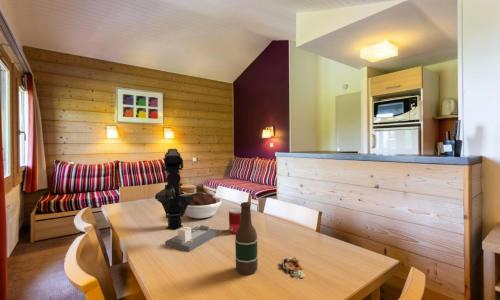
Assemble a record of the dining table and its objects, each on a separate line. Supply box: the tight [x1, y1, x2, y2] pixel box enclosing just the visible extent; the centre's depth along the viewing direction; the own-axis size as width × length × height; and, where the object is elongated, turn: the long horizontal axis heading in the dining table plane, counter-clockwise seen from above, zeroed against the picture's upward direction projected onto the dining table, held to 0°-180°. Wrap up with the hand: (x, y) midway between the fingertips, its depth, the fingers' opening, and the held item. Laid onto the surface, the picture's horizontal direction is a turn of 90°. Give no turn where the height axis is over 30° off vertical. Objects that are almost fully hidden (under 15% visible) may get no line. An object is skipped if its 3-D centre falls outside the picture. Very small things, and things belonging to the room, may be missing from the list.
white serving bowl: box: [185, 191, 222, 219], centre depth 157 cm, size 25×25×15 cm
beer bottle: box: [234, 201, 259, 276], centre depth 89 cm, size 8×8×24 cm
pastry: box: [277, 256, 306, 280], centre depth 89 cm, size 7×12×4 cm, turn 25°
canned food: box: [228, 208, 241, 235], centre depth 129 cm, size 8×8×11 cm
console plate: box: [164, 224, 220, 252], centre depth 119 cm, size 14×22×4 cm, turn 152°
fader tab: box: [177, 226, 192, 242], centre depth 114 cm, size 4×4×5 cm
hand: (174, 215), depth 117 cm, fingers open, 9 cm apart
